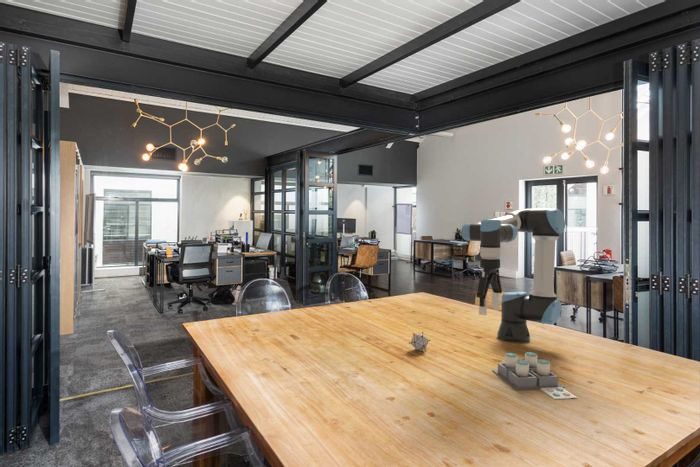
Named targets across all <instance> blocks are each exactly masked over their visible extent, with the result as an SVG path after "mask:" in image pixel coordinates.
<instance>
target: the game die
mask: <svg viewBox="0 0 700 467" xmlns="http://www.w3.org/2000/svg"><path fill="white" fill-rule="evenodd" d="M412 335H413V336H412V337H411V340H410V342H408V344H411V346H412V347H413V348H414V350H415V352H416V353H417V352H418V351H427V346H428V344H429V342H431V339H428V338H427V337H426V336H425V335H424V331H422V333H414V332H412Z"/></svg>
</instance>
